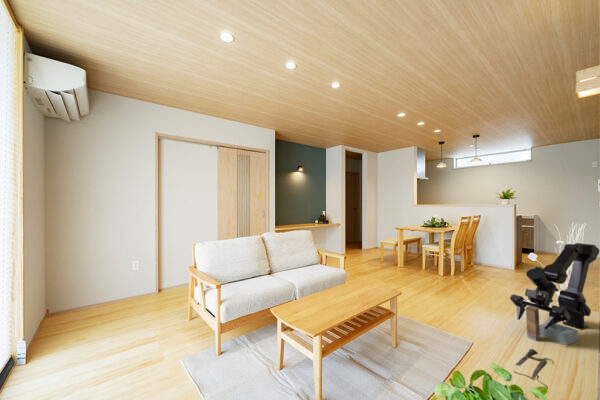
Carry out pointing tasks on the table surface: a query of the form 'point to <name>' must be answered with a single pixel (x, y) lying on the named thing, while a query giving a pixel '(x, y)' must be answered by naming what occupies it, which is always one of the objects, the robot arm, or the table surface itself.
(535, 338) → the tan rectangular block
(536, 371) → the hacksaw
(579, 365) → the table surface
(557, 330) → the holder
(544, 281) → the robot arm
